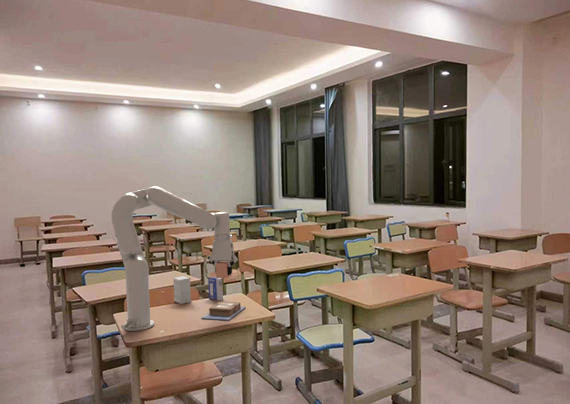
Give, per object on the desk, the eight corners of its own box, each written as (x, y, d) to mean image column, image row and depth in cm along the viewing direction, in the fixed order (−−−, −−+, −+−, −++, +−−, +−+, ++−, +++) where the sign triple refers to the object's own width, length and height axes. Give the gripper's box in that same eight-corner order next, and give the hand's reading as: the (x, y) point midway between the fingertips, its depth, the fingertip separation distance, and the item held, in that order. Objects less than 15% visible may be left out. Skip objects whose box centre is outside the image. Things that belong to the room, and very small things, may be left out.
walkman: (209, 298, 225) (208, 277, 224) (212, 297, 227) (211, 276, 227) (219, 300, 221) (218, 278, 220) (223, 299, 223) (222, 277, 223)
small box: (191, 301, 220) (190, 278, 220) (180, 304, 216) (179, 280, 216) (184, 299, 226) (183, 275, 226) (174, 301, 222) (173, 277, 222)
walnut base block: (230, 315, 191) (230, 309, 191) (209, 314, 194) (209, 308, 194) (240, 308, 203) (240, 302, 202) (220, 307, 206) (220, 301, 206)
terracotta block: (226, 278, 194) (226, 263, 194) (216, 277, 196) (215, 263, 196) (231, 275, 200) (230, 261, 199) (221, 275, 201) (220, 261, 201)
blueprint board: (228, 320, 186) (228, 319, 186) (201, 318, 190) (201, 317, 190) (245, 308, 205) (245, 306, 205) (220, 306, 209) (220, 305, 209)
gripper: (241, 236, 198) (243, 273, 199) (210, 236, 203) (211, 272, 204) (235, 238, 191) (237, 276, 192) (202, 238, 196) (204, 275, 197)
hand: (223, 274), depth 198 cm, fingers closed on terracotta block, 5 cm apart
